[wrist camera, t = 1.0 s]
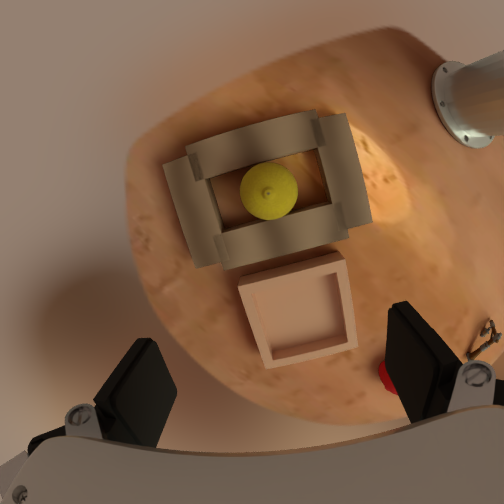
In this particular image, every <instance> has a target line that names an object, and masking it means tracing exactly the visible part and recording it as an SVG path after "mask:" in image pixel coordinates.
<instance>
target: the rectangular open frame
mask: <svg viewBox="0 0 504 504" xmlns="http://www.w3.org/2000/svg"><path fill="white" fill-rule="evenodd" d="M185 148H186V152H187V156H184V157H181V158H178V159H176V160H173V161H171V162H168V163H165V164H163V165H162V166H163V169H164V173H165V176H166V179H167V183H168V186H169V189H170V193H171V196H172V199H173V202H174V205H175V209H176V212H177V215H178V218H179V221H180V224H181V227H182V230H183V233H184V236H185V239H186V242H187V245H188V248H189V251H190V254H191V256H192V259H193V262H194V265H195V268H196V269H197V268H201V267H204V266H208V265H212V264H216V263H220V262H221V264H222V267H223V270H228V269H232V268H236V267H240V266H244V265H248V264H252V263H256V262H260V261H263V260H267V259H271V258H275V257H279V256H283V255H287V254H290V253H294V252H298V251H302V250H306V249H309V248H313V247H317V246H321V245H325V244H328V243H332V242H336V241H340V240H343V239H347V238H349V234H348V229H349V228H353V227H357V226H361V225H365V224H368V223H372V222H373V221H372V216H371V211H370V206H369V201H368V196H367V191H366V187H365V182H364V178H363V174H362V170H361V166H360V162H359V158H358V154H357V151H356V147H355V143H354V140H353V136H352V133H351V130H350V126H349V123H348V120H347V117H346V114H345V113H342V114H336V115H331V116H326V117H321V118H318V115H317V112H316V109H314V110H309V111H304V112H300V113H295V114H291V115H287V116H283V117H278V118H274V119H271V120H267V121H263V122H259V123H256V124H252V125H249V126H245V127H242V128H238V129H235V130H232V131H229V132H225V133H222V134H219V135H216V136H213V137H210V138H207V139H204V140H201V141H199V142H196V143H193V144H190V145H188V146H185ZM310 150H314V152H315V155H316V159H317V162H318V166H319V170H320V173H321V177H322V181H323V185H324V189H325V193H326V197H327V202H323V203H319V204H315V205H311V206H308V207H304V208H300V209H296V210H292V211H289V212H288V213H287V214H286V215H284V216H283V217H281V218H278V219H274V220H265V219H259V220H255V221H251V222H248V223H244V224H241V225H237V226H233V227H230V228H226V229H225V227H224V224H223V221H222V217H221V214H220V211H219V208H218V205H217V201H216V198H215V195H214V192H213V188H212V185H211V182H210V178H213V177H216V176H219V175H222V174H225V173H229V172H232V171H235V170H238V169H242V168H245V167H249V166H252V165H256V164H259V163H263V162H266V161H270V160H274V159H278V158H281V157H285V156H289V155H293V154H297V153H301V152H305V151H310Z"/></svg>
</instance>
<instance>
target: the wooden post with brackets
mask: <svg viewBox="0 0 504 504" xmlns="http://www.w3.org/2000/svg"><path fill="white" fill-rule="evenodd" d="M489 322H490V326H491V327H489V328H487V329H486V328H485V330H484V331H482V332H481V333H482V334H481V335H480V336H481V337H483V336H484V337H485V336H486V335H487V334H489V330H490V329H491V328H492V333H491V337H490V340H489V341H486V343H484V344H483V345H481V346H480V348H478V349H477V350H475V351H474V352H472V353H467V354H466V355H467V359H468V361H473V360H474V359H475V358H476V357H477V356H478V355H479V354H480V353H481V352H482V351H484V350H486V349H487V348H488V347H490V345H491V344H493V343H494V342H496V343H498V342H499V339H501V336H502V333H497V332H496V329H495V324H494V322H493V320H490V321H489ZM493 334H494V336H493ZM492 336H493V337H492Z"/></svg>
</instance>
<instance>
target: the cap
mask: <svg viewBox="0 0 504 504" xmlns="http://www.w3.org/2000/svg"><path fill="white" fill-rule="evenodd" d="M379 376H380V379H381V381H382V383H383V384H384V385H385V389H386V390H388V391H390V392H392V393H393V394H396V395H398V394H397V392H396V389H395V387H394V385H393V383H392V381H391V379H390V377H389V375H388V373H387V371H386V368H385V361H383V362H382V363H381V364H380V366H379Z"/></svg>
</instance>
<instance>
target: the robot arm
mask: <svg viewBox="0 0 504 504" xmlns="http://www.w3.org/2000/svg"><path fill="white" fill-rule="evenodd" d="M432 96H433V101H434V104H435V108H436V110H437V113H438V115H439V117H440V119H441V121H442V123H443V125H444V126H445V127H446V129H447V130H448V132H449V133H450V134H451V135H452V136H453V137H454V138H455V139H456V140H457V141H458V142H460V143H461V144H463V145H465V146H466V147H470V148H484V147H486V146H488V145H489V144H490V143H491V142H492V140H493V138H494V136H500V135H504V50H503V51H500V52H498V53H495V54H493V55H491V56H488V57H486V58H483V59H481V60H479V61H476V62H474V63H472V64H469V65H467V66H466V65H464V64H462V63H460V62H455V61H449V62H446V63H444V64H442V65H440V66H439V67H438V68H437V69H436V70H435V72H434V74H433V78H432ZM385 368H386V371H387V373H388V375H389V377H390V379H391V381H392V383H393V385H394V387H395V389H396V392H397V394H398V396H399V398H400V400H401V402H402V404H403V407H404V409H405V411H406V413H407V415H408V418H409V420H410V422H411V424H409V425H406V426H403V427H400V428H396V429H393V430H390V431H386V432H382V433H378V434H374V435H370V436H366V437H362V438H358V439H353V440H349V441H343V442H338V443H333V444H327V445H321V446H314V447H307V448H299V449H290V450H280V451H268V452H245V453H214V452H192V451H180V450H169V449H160V448H156V446H157V444H158V441H159V438H160V436H161V433H162V431H163V428H164V426H165V423H166V421H167V418H168V416H169V413H170V411H171V408H172V406H173V403H174V401H175V398H176V396H177V388H176V386H175V384H174V382H173V380H172V377H171V375H170V373H169V371H168V368H167V366H166V364H165V361H164V359H163V357H162V355H161V352H160V350H159V347H158V345H157V343H156V342H155V341H153V340H152V339H151V338H138V339H137V340H136V341H135V342H134V344H133V345H132V346H131V348H130V349H129V350H128V352H127V353H126V354H125V356H124V357H123V359H122V360H121V361H120V363H119V364H118V365H117V367H116V368H115V369H114V371H113V372H112V374H111V375H110V376H109V378H108V379H107V381H106V382H105V383H104V385H103V386H102V388H101V389H100V391H99V392H98V393H97V395H96V396H95V398H94V399H93V400H94V402H95V403H96V405H95V407H93V406H92V405H90V404H80V405H77V406H75V407H73V408H72V409H70V410H69V412H68V413H67V414H66V416H65V425H64V426H62V427H59V428H57V429H54V430H52V431H49V432H47V433H44V434H41V435H39V436H37V437H34V438H33V439H32V440H31V441H30V443H29V445H28V453H27V452H26V451H23V452H22V453H20V454H19V455H17V456H16V457H14V458H13V459H11V460H9V461H8V462H6V463H5V464H3V465H1V466H0V494H1V496H2V501H1V503H0V504H504V380H498V379H496V375H495V371H494V369H493V368H492V366H491V365H490V364H488V363H486V362H484V361H480V360H473V361H468V362H466V363H465V364H462V362H461V361H460V360H459V359H458V357H457V356H456V355H455V354H454V353H453V351H452V350H451V349H450V348H449V347H448V345H447V344H446V343H445V342H444V341H443V340H442V338H441V337H440V336H439V335H438V334H437V333H436V331H435V330H434V329H433V328H431V327H430V326H429V324H428V323H427V322H426V321H425V320H424V319H423V318H422V317H421V316H420V314H419V313H418V312H417V311H416V310H415V309H414V308H413V307H412V306H411V305H410V303H409V302H408V301H403V302H399V303H394V304H393V305H392V308H389V310H388V325H387V341H386V354H385Z"/></svg>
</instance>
